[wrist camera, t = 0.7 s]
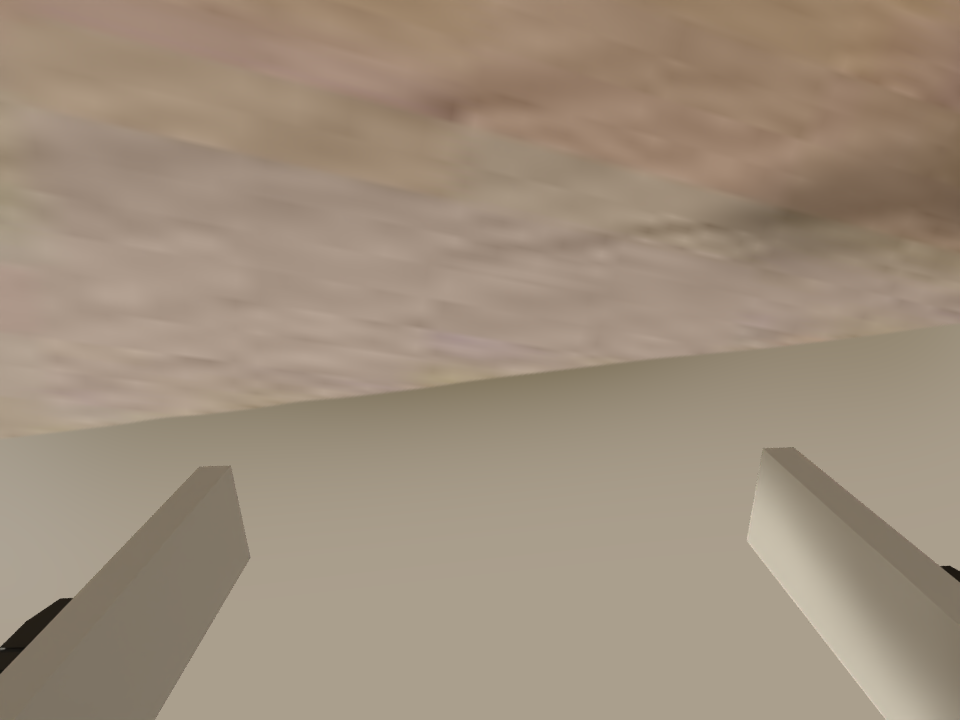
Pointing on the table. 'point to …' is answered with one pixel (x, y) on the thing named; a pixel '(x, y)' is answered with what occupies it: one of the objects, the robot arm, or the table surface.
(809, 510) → the robot arm
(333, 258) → the table surface
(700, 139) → the table surface
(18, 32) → the table surface
